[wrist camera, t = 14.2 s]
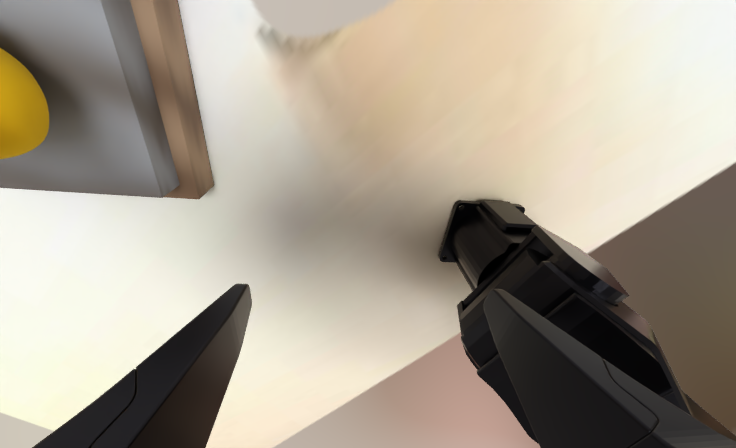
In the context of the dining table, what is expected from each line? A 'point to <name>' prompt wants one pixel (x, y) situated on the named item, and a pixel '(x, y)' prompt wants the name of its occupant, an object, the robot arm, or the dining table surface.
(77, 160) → the metal-topped wooden square
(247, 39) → the dining table surface
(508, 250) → the robot arm
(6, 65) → the duckling
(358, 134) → the dining table surface
